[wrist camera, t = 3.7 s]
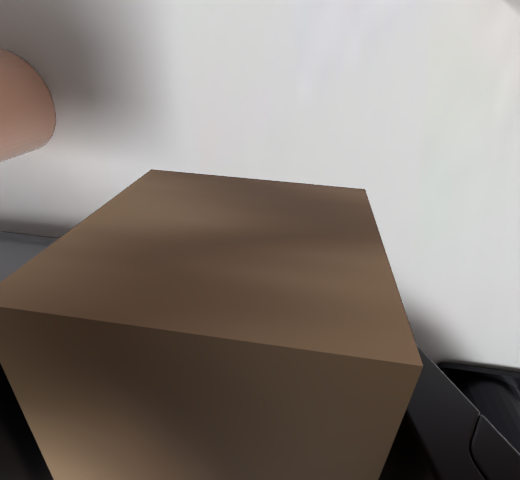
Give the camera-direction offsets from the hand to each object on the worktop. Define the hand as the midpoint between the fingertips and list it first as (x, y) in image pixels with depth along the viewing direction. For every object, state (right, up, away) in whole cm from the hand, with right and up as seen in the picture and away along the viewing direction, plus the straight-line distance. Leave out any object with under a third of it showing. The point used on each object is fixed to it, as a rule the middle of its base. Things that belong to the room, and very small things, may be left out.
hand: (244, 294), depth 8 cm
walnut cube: (0, +1, +1) cm, 1 cm away
